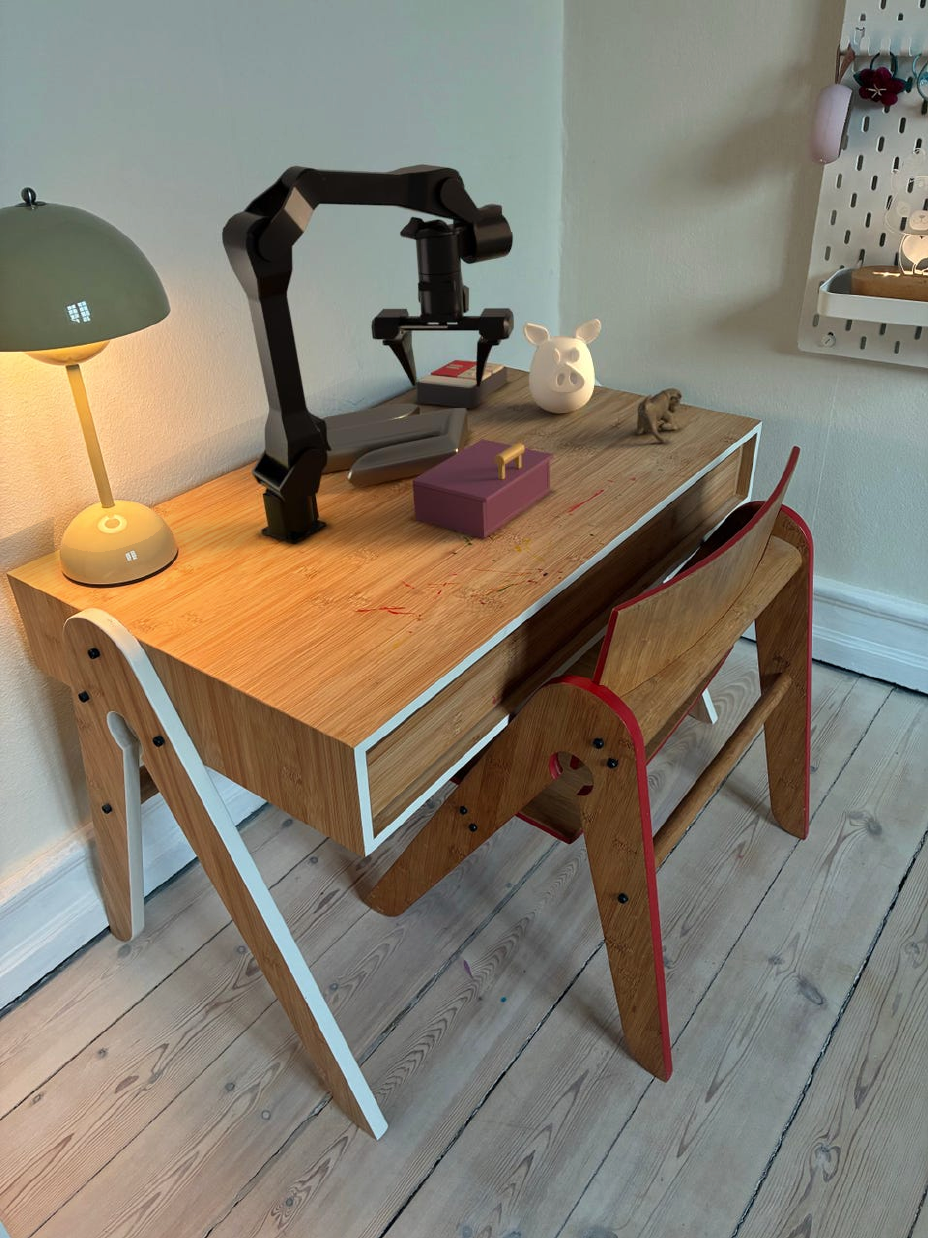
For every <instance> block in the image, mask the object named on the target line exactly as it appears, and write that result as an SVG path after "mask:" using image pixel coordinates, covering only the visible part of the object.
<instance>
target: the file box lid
mask: <svg viewBox="0 0 928 1238" xmlns="http://www.w3.org/2000/svg"><path fill="white" fill-rule="evenodd" d="M553 459H554V453H549V452H545V451H540V450H535V449H530V448H526V447H525V445H524V444H523V443H522V442H515V443H514V444H508V443H507V444H506V443H502V442H498V441H493V440H488V439H484V438H481V439H480V440H478V441H476V442H475V443H473V444H472V445H469V446H468V447H466V448H463V451H461V452H459V453H457V454H456V455H454V456H452V457H451V458H449V459H447V460H445V461H444V462H442V463H440V464H439V465H437V466H435V467H433V468H432V469H430V470H428V471H427V472H425V473H423V474H419V475H417V476H416V477H414V478H413V479H412V480H411V482H412V483H411V484H412V485H413V484H415V485H419V486H423V487H427V488H431V489H435V490H439V491H443V492H447V493H450V494H454V495H458V496H462V497H466V498H470V499H474V500H478V501H482V502H486V503H487V502H488V501H490V500H491V499H493V498H494V497H496V496H497V495H499V494H500V493H502V492H503V491H505V490H506V489H508V488H509V487H511V486H512V485H514V484H515V483H517V482H518V481H520V480H521V479H523V478H524V477H526V476H527V475H529V474H530V473H532V472H533V471H535V470H536V469H538V468H539V467H541V466H542V465H544V464H545V463H547V462H548V461H552V460H553Z"/></svg>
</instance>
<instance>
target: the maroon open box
mask: <svg viewBox="0 0 928 1238" xmlns="http://www.w3.org/2000/svg"><path fill="white" fill-rule="evenodd" d="M550 461H551V460H550ZM550 461H548V462H547V463H545V464H544V465H542V466H541V467H539V468H538V469H536V470H535V471H533V472H532V473H530V474H529V475H527V476H526V477H524V478H523V479H521V480H520V481H518V482H517V483H515V484H514V485H512V486H511V487H509V488H508V489H506V490H505V491H503V492H502V493H500V494H499V495H497V496H496V497H494V498H493V499H491V500H490V501H488V502H487V503H486V502H482V501H478V500H474V499H470V498H466V497H462V496H458V495H454V494H450V493H447V492H443V491H439V490H435V489H431V488H427V487H423V486H419V485H415V484H412V495H413V506H414V515H415V520H416V521H420V522H423V523H428V524H430V525H434V526H437V527H441V528H445V529H447V530H452V531H456V532H459V533H463V534H467V535H471V536H474V537H478V538H482V539H487V537H489V536H490V535H492V534H493V533H494V532H496V531H497V530H498V529H500V528H501V527H503V526H504V525H505V524H507V523H508V522H510V521H511V520H513V519H514V518H516V517H517V516H518V515H520V514H521V513H522V512H524V511H526V510H527V509H528V508H529V507H531V506H532V505H534V504H535V503H537V502H538V501H540V500H541V499H542V498H543V497H545V496H546V495H548V494H549V493H550V492H551V469H550V468H551V462H550Z"/></svg>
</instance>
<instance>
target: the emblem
mask: <svg viewBox="0 0 928 1238" xmlns="http://www.w3.org/2000/svg"><path fill="white" fill-rule="evenodd" d="M320 418H321V417H320ZM321 419H323V420H325V422H326V426H327V441H328V444H329V446H330V447H331V449H332V450H331V451H327V454H328V462H327V465H326V467H324V469H323V471H322V474H321V475H325V474H330V473H336V472H342V471H346V470H349V471H348V472H347V482H348V483H349V484H350V485H351V486H352V487H355V488H362V487H367V486H371V485H377V484H381V483H384V482H385V483H386V482H389V481H394V480H399V479H403V478H408V477H413V476H414V477H415V476H419V475H421V474H423V473H425V472H427V471H428V470H430V469H432V468H433V467H435V466H437V465H439V464H440V463H442V462H444V461H445V460H447V459H449V458H451V457H452V456H454V455H456V454H457V453H459V452H461V451H463V450H464V449H465V443H466V441H467V440H466V439H467V436H468V430H469V428H468V427H469V426H468V425H469V424H468V421H469V420H468V411H467V408H461V407H453V408H447V409H442V410H436V411H430V412H425V413H421V407H420V405H418V404H416V403H397V404H391V405H384V406H378V407H373V408H367V409H361V410H355V411H351V412H345V413H339V414H334V415H328V416H324V417H322V418H321Z"/></svg>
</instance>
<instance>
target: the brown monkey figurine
mask: <svg viewBox="0 0 928 1238" xmlns="http://www.w3.org/2000/svg"><path fill="white" fill-rule="evenodd" d="M682 397H683V393H682V391H681V390H679V389H678V388H674V387H673V388H667V389H663V390H661V391H660V392H657V393H655V395H652V394H649V395H647V396H646V397H645V398H644V399H643V401H641V402H640V403H639V404H638V406H637V425H636V426H637V427H636V429H635V435H637V436H638V435H642V434H643V433H644V432H645V433H651V435H652V436H653V437H654V438H655V439H656V440H657V441H659V442H660V443H661V444H666V442H667V441H666V438H664V437H663V436H662V435H661V434H660V433H659V431H658V429H657V427H658V428H659V429H660V430H661V431H676V430H678V429H679V428H678V426H677V420H676V419H675V418H674V416H673V415H672V414H674V413H676V412H677V409H678V406H679V404H680V403H681V401H682ZM660 421H663V422H662V423H660V424H659V425H658V426H657V423H658V422H660Z"/></svg>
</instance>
